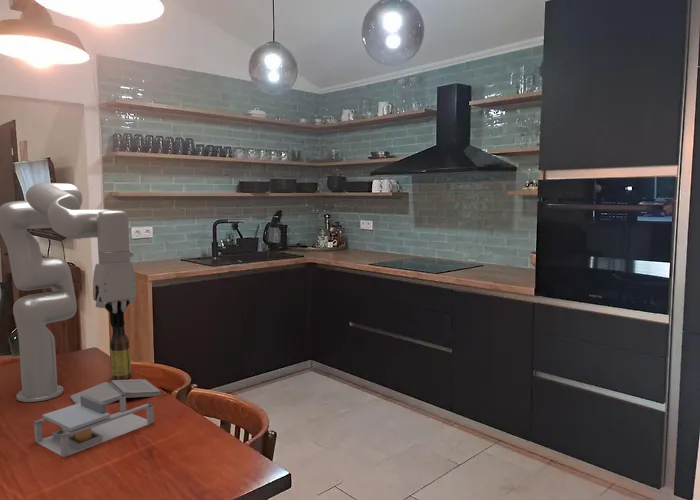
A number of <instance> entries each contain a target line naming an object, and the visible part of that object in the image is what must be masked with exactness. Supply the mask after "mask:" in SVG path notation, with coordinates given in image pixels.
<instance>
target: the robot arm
mask: <svg viewBox="0 0 700 500" xmlns="http://www.w3.org/2000/svg"><path fill="white" fill-rule="evenodd" d="M25 193H26V194H25V200H16V201H15V200H13V201H9V202H6V203H3V204H2V205H0V235H1V237H2V239H3V242H4V243H5V246H6V249H7V254H8V260H9V265H10V271H11V276H12V280H13V283H14V286H15V287H16V289H18V290H20V291H34V290H35V291H36V290H43V289H48V288H51V290H52V291H49V292H48V291H47V292H42V293H41V292H40V293H33V294H28V295H25V296H22V297H20V298H18V299H17V300H16V301H15V302H14V304H13V307H12V314H13V317H14V321H15V325H16V330H17V335H18V337H17V338H18V349H19V361H20V377H21V382H20V383H21V390H19V392H18V393H16V400H17V401H19V402H23V403H35V402H42V401H47V400H51V399H53V398H54V399H55V398H57V397H59V396H61V395H62V394H63V392H64V387H63V386H62V385H60V384H58V373H57V371H58V369H57V354H56V338H55V336H54V334H53V333H52V331H51V330H50V329H49V328H48V327H47V326H46V325H47V324H51V323H56V322H61V321H65V320H69V319H71V318H73V317H74V316H75V315H76V313H77V309H78V308H77V307H78V306H77V305H78V304H77V298H76V293H75V287H74V281H73V276H72V272H71V269H70V266H69V264H68V262H67V261H66V260H65V259H64V258H61V257H59V256H52V257H51V256H50V257H43V255H42V253H41V248H40V247H41V246H40V243H39V242H38V240H37V239H36V238H35V237H34V235H32V234H31V233H30V232H29V231H28V230H30V229H31V230H34V229H37V230H38V229H52V230H53V232H55V233H56V234H59V236H63V238H64V237H65V238H67V239H74V240H75V239H76V240H78V239H79V240H81V239H93V238H97V254H98V257H97V258H98V263H96V264H95V266H94V270H93V277H92V279H93V280H92V298H93V300H94V301H95V308H99V309H105V310H106V311H107V312H108V313H109V322H110V325H111V328H112V327H115V328H119V327H123V326H124V327H125V324H124V325H123V323H124V322H125V316H124V315H125V311H126V309H127V308H128V306H129V305H130V304H133V303H135V302H136V301H137V300H136V299H137V298H136V296H137V281H136V280H137V279H136V272H135V269H134V264H133V262H132V261H131V258H133V257H134V254H135V253H134V252H133V251H131V250H130V230H129V215H128V213H127V212H126V211H124V210H111V209H105V208H104V209H102V208H100V209H99V208H98V209H97V208H96V209H94V208H91V209H81V206H82V204H83V195H82V192H81V191H80V189H79V188H78V186H76V185H74V184H73V183H66V182H63V183H62V182H61V183H60V182H39V183H36V184H33V185H32V186H31V185H30V187H29V188H28V189H27V191H26V192H25Z"/></svg>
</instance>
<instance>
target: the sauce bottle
mask: <svg viewBox="0 0 700 500" xmlns="http://www.w3.org/2000/svg"><path fill="white" fill-rule="evenodd" d="M123 325H124V326H123V327H119V328H115V327H112V326H111V328H112V334H111V339H110V342H109V355H110V367H111V368H110V369H111V370H110V371H111V377H112V379H113V380H128V379H129V378H131V377H132V361H131V360H132V359H131V348H130V339H129V338H128V336H127V334H126V332H125V331H126V329H125V325H126V323H125V321H124V323H123Z"/></svg>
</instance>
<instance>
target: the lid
mask: <svg viewBox="0 0 700 500" xmlns="http://www.w3.org/2000/svg"><path fill="white" fill-rule="evenodd" d="M80 400H81V403H78V404H75V403H74V404H72V405H69V406H67V407H66V406H65V407H63V408H60V409H57V410H54V411H50V412H47V413H43V414H42V419H43V418H44V419H46V420H48V421H47V422H50V423H51V424H52V423H53V424H55V425H57V426H59V427H61V428H62V429H63V428H65V429H67V430H69V431H73V430H75V429H78V428H81V427H84V426H87V425H90V424H92V423H95V422H98V421H101V420H104V419H106V418H109V417H110V415H111V414H110V413H108V412H107V405H106V403H104V402H101V401H99V400H96V399H94V398H91V397H89V396H86V395H83V396H80Z"/></svg>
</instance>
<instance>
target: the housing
mask: <svg viewBox="0 0 700 500" xmlns="http://www.w3.org/2000/svg"><path fill="white" fill-rule="evenodd" d="M117 398H119V400H118V401H119V411H118V412H116V413H112V414H110V417H109V418H106V419H104V420H101V421H98V422H95V423H92V424H90V425H87V426H84V427H81V428H78V429H75V430H73V431H69V432H66V433H63V428H61V429H58V430H56V431H53V432H52V435H49V436H48V437H43V429H42V428H43V426H42V424H43V423H47V422H49V421H48V420H46V419H44V418H43V417H42V418H41V419H37V420H34V421H33V428H34V430H33V431H34V442H35V443H36V444H38V445H41V446H42V447H44V448H46V449H48V450H49V451H52V452H53V453H55V454H56V455H59V456H61V457H62V458H66V457H68V456H72V455H74V454H77V453H79V452H81V451H84V450H87V449H89V448H91V447H95V446H98V445H99V444H102V443H105V442H107V441H109V440H112V439H115V438H117V437H120V436H122V435H125V434H127V433H131V432H133V431H135V430H138V429H140V428H143V427H145V426H148V425H151V424H153V423H154V419H155V418H154V403H153V402H147V403H145V404H142V405H139V406H136V407H134V408H131V409H127V400H126V399H127V398H126V394H125V393H121V394H117V395H114V396H111V397H108V398H105V399H102V400H99V401H101V402H104V403H105V402H108V401H111V400H114V399H117ZM145 409H146V418H144V417H142V416H139V415H138V414H134V413H137V412H139V411H142V410H145ZM90 428H91V429H92V437H93V438H92V439H90V440H87V441H84V442H82V443H77V442H76V441H75V434H76V433H79V432H82V431H84V430H87V429H90ZM73 434H74V435H73Z"/></svg>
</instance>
